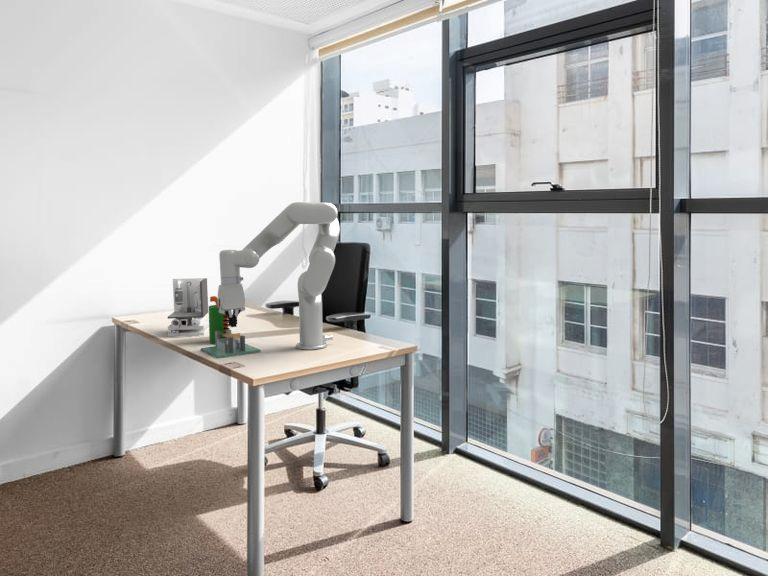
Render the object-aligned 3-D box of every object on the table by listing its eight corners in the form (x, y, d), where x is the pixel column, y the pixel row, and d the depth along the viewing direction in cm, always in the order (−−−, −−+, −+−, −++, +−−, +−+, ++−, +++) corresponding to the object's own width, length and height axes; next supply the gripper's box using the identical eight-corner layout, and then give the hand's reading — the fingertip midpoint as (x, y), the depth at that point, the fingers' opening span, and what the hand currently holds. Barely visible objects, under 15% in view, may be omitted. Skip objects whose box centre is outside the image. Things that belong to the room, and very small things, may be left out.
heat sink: (231, 344, 254) (231, 328, 254) (243, 349, 245) (243, 333, 244) (213, 346, 250) (212, 331, 249) (224, 351, 240) (224, 335, 239)
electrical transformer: (209, 329, 294) (206, 278, 291) (202, 337, 275) (200, 282, 272) (175, 330, 292) (173, 279, 289) (166, 338, 273) (164, 283, 270)
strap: (226, 334, 252) (226, 330, 251) (240, 337, 240) (240, 333, 240) (219, 335, 250) (219, 331, 250) (233, 338, 238) (233, 334, 238)
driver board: (242, 344, 258) (241, 328, 257) (260, 352, 244) (260, 334, 243) (200, 350, 248) (200, 333, 247) (217, 358, 233) (216, 340, 232)
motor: (231, 343, 261) (229, 297, 259) (209, 344, 259) (208, 298, 256) (230, 338, 271) (228, 294, 269) (209, 340, 268) (207, 295, 266)
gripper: (244, 278, 248) (246, 323, 251) (208, 282, 240) (211, 327, 242) (252, 280, 242) (254, 325, 245) (216, 283, 234) (218, 330, 236)
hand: (233, 326), depth 243 cm, fingers closed
